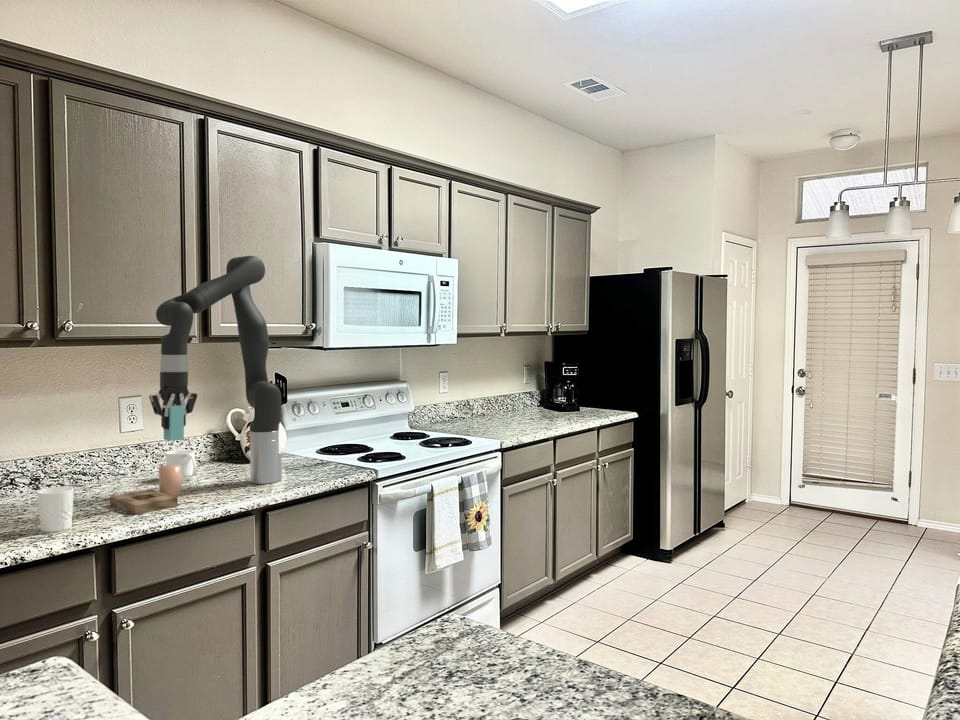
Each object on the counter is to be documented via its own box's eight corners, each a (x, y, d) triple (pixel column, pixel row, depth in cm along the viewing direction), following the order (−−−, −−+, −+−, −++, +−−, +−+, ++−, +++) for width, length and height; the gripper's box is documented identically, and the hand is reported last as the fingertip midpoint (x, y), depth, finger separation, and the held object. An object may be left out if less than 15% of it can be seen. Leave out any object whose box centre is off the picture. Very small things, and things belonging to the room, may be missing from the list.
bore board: (151, 497, 210) (151, 489, 209) (177, 506, 200) (177, 497, 199) (109, 505, 200) (109, 496, 200) (135, 514, 190) (135, 505, 190)
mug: (161, 479, 235) (160, 452, 235) (186, 474, 242) (185, 448, 242) (179, 484, 228) (178, 456, 227) (204, 479, 235) (204, 452, 234)
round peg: (175, 492, 217) (174, 463, 216) (185, 495, 213) (184, 466, 212) (155, 495, 212) (155, 466, 211) (165, 499, 208) (165, 469, 207)
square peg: (176, 438, 206) (177, 404, 205) (183, 439, 203) (184, 405, 203) (163, 439, 203) (163, 405, 202) (170, 440, 200) (170, 406, 200)
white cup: (76, 523, 182) (75, 485, 181) (72, 531, 175) (71, 491, 174) (41, 526, 179) (40, 488, 178) (35, 534, 171) (34, 494, 171)
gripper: (190, 369, 210) (189, 425, 211) (143, 370, 199) (143, 429, 199) (203, 370, 205) (202, 427, 206) (156, 371, 194) (155, 432, 195)
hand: (173, 428), depth 203 cm, fingers closed on square peg, 4 cm apart
